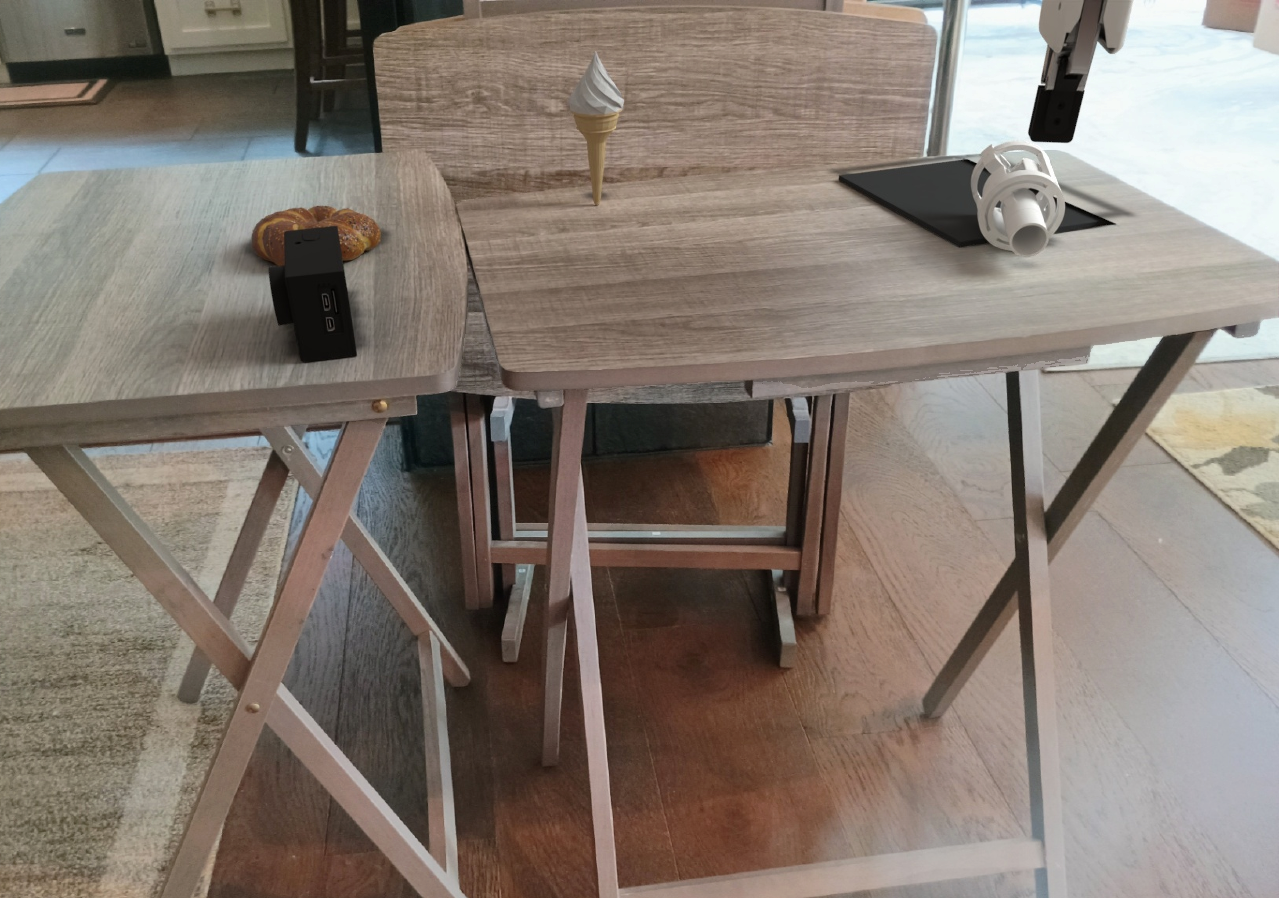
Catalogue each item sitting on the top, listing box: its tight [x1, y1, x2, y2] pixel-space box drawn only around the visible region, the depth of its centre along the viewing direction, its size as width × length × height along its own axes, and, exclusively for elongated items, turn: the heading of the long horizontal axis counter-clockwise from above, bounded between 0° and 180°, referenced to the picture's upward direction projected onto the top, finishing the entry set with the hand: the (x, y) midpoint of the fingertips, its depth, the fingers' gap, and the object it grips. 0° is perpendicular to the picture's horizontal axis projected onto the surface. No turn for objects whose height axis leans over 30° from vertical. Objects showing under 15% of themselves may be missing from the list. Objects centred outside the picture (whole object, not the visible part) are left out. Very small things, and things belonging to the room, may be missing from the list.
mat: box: [837, 158, 1117, 248], centre depth 105 cm, size 22×18×1 cm
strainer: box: [971, 140, 1066, 258], centre depth 93 cm, size 7×7×15 cm
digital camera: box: [268, 226, 358, 363], centre depth 81 cm, size 10×5×7 cm, turn 13°
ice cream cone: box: [567, 50, 625, 206], centre depth 103 cm, size 6×6×15 cm
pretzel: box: [250, 205, 382, 266], centre depth 97 cm, size 12×11×4 cm
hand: (1049, 138), depth 83 cm, fingers closed
